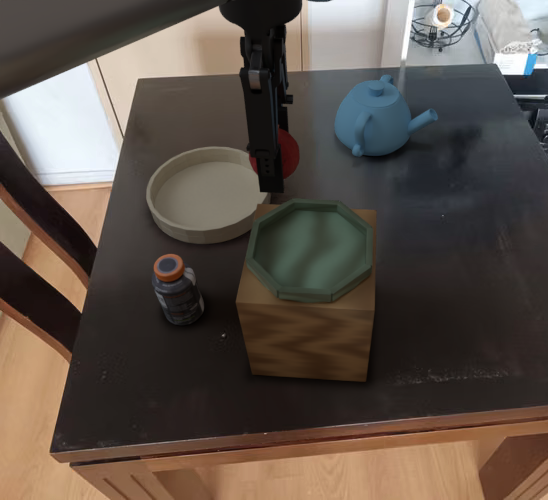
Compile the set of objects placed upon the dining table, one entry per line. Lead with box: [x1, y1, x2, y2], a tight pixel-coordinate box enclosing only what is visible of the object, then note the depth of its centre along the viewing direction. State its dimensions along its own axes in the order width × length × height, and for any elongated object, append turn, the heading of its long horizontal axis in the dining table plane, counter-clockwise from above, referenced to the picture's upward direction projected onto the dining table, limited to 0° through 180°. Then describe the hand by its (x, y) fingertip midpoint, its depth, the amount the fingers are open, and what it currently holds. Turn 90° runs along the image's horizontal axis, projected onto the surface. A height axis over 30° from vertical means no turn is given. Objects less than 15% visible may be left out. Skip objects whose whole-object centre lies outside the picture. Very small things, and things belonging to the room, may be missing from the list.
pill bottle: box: [151, 253, 205, 326], centre depth 78 cm, size 6×6×11 cm
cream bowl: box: [145, 145, 272, 245], centre depth 96 cm, size 21×21×4 cm
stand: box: [235, 197, 378, 383], centre depth 73 cm, size 16×16×20 cm
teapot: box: [333, 73, 439, 158], centre depth 104 cm, size 20×20×13 cm
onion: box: [248, 125, 301, 180], centre depth 61 cm, size 6×6×8 cm
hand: (275, 170), depth 63 cm, fingers closed on onion, 6 cm apart
